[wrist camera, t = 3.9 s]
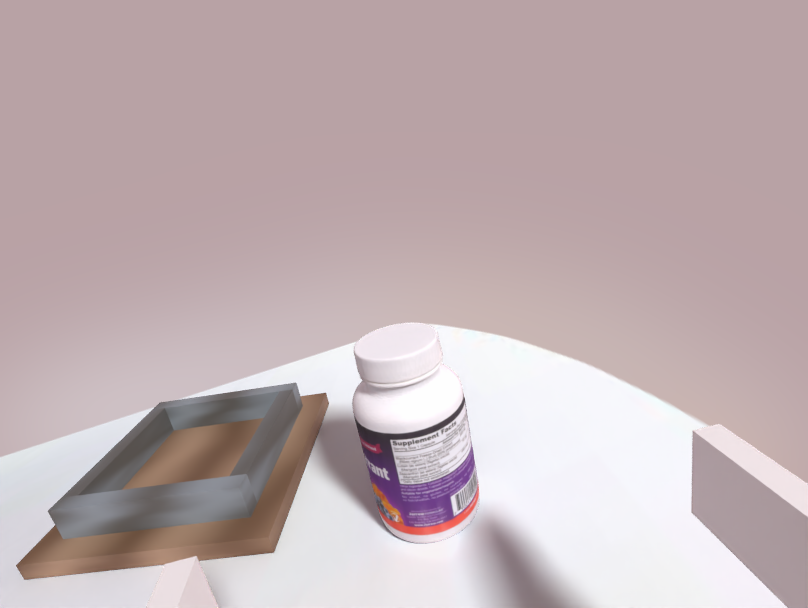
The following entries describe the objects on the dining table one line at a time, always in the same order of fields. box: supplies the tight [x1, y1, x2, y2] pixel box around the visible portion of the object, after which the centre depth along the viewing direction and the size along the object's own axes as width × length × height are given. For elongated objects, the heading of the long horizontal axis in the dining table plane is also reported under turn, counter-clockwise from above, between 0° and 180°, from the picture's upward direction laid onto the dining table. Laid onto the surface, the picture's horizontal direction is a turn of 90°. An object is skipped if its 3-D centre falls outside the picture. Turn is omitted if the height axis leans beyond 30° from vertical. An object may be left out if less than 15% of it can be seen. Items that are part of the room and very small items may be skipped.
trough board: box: [16, 383, 329, 580], centre depth 30 cm, size 14×14×3 cm
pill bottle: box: [352, 323, 479, 543], centre depth 22 cm, size 5×5×10 cm
